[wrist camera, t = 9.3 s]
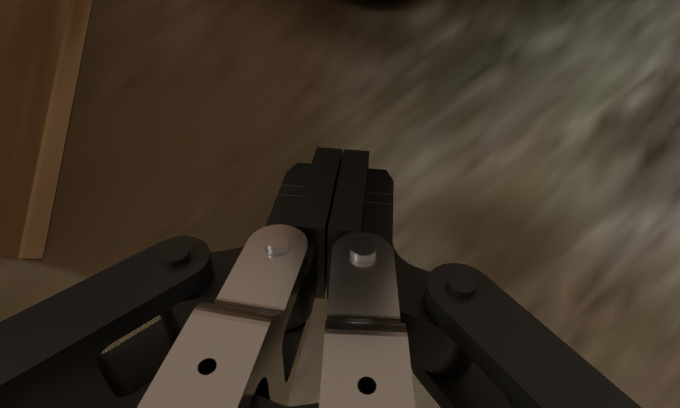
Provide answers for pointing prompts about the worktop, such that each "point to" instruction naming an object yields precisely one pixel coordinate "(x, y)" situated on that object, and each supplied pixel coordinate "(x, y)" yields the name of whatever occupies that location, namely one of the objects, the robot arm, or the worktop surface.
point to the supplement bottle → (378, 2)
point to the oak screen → (35, 113)
